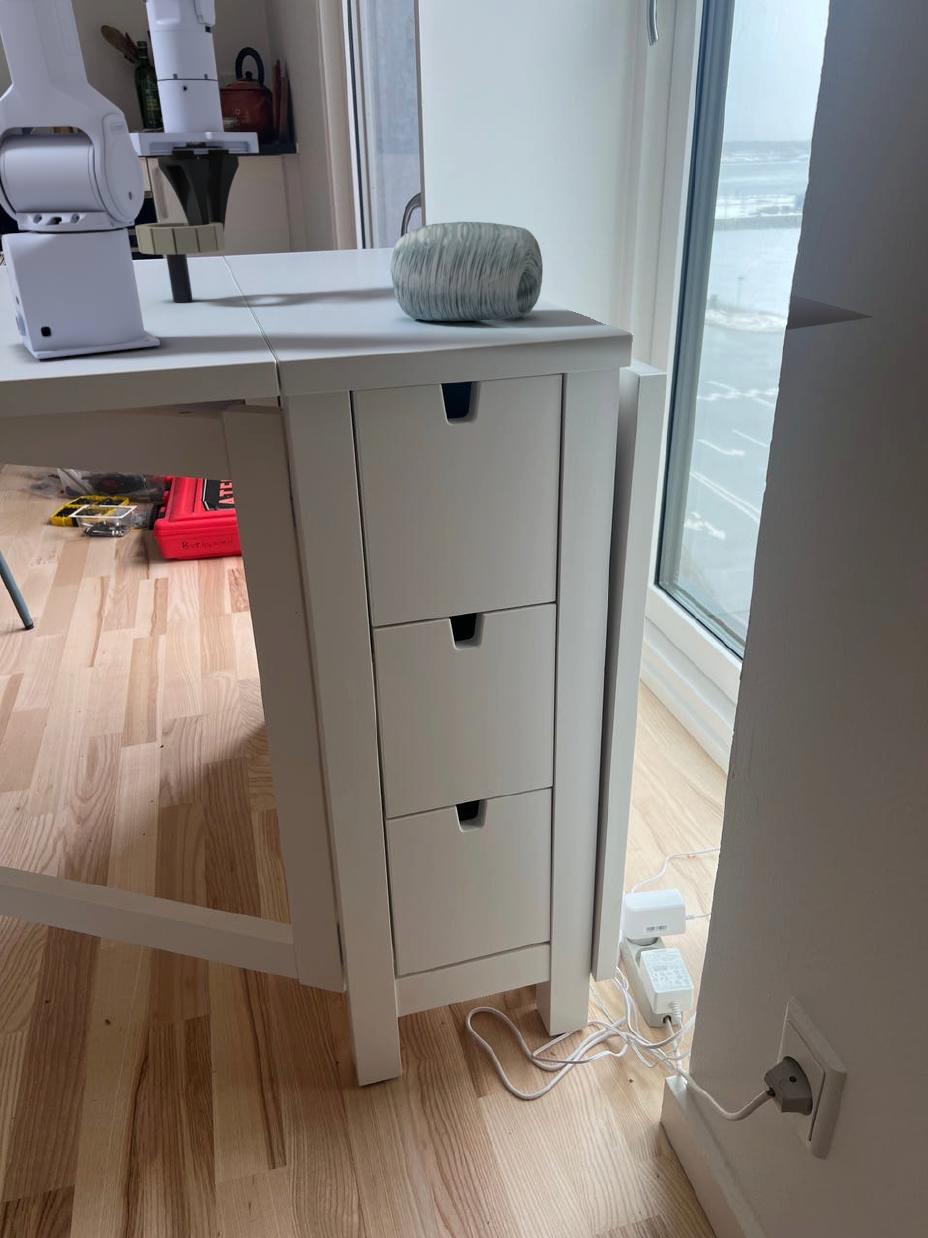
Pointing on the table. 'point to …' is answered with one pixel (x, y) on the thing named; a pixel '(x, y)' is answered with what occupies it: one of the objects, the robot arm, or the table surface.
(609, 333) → the table surface
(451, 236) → the spool
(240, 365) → the table surface
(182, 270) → the post
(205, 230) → the tape roll
